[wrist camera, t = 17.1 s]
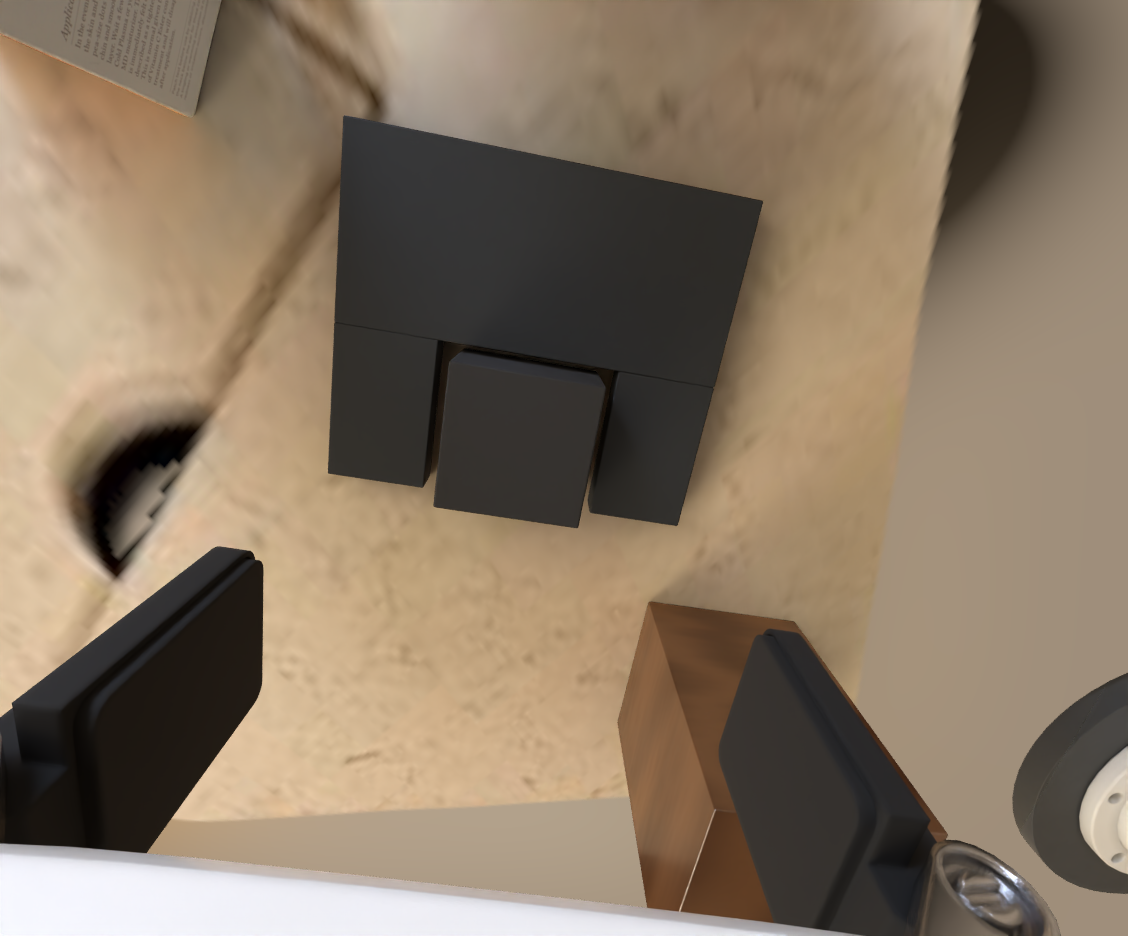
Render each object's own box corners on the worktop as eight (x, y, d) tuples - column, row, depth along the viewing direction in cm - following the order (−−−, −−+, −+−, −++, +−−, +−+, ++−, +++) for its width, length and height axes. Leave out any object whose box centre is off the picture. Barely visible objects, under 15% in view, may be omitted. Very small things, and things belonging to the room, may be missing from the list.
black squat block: (597, 370, 25) (606, 387, 21) (573, 493, 27) (578, 529, 23) (463, 347, 24) (448, 360, 21) (449, 474, 26) (432, 507, 23)
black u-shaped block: (750, 205, 23) (763, 200, 22) (671, 513, 27) (677, 526, 26) (356, 125, 22) (342, 114, 20) (339, 463, 26) (327, 473, 25)
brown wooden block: (794, 621, 30) (949, 834, 18) (752, 738, 32) (865, 991, 21) (648, 600, 29) (714, 809, 18) (617, 722, 31) (657, 974, 20)
